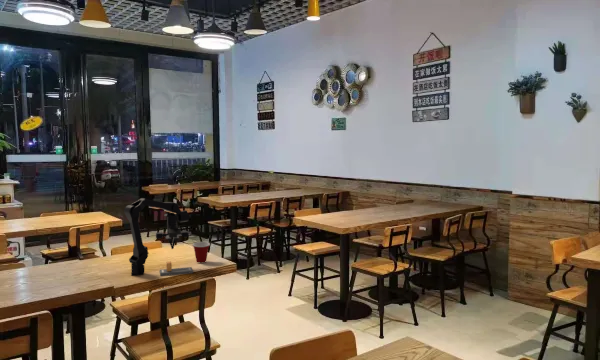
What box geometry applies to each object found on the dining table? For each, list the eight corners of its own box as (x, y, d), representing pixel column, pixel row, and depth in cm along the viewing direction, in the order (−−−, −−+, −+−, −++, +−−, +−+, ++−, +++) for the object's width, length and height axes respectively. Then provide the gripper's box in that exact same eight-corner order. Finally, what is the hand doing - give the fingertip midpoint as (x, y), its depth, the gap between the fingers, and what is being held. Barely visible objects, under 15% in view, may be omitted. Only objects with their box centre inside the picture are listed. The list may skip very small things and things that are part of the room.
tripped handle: (166, 271, 251) (166, 263, 251) (166, 269, 255) (166, 261, 254) (171, 270, 252) (171, 263, 251) (171, 269, 256) (170, 261, 255)
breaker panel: (160, 275, 248) (160, 273, 248) (159, 272, 255) (159, 269, 255) (193, 273, 254) (193, 270, 254) (191, 269, 262) (191, 266, 262)
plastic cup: (194, 265, 272) (193, 245, 272) (191, 261, 282) (191, 242, 282) (211, 263, 276) (211, 244, 276) (208, 259, 286) (208, 241, 286)
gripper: (156, 226, 255) (156, 252, 256) (189, 224, 262) (189, 250, 263) (155, 223, 265) (155, 248, 266) (187, 221, 272) (187, 246, 273)
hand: (172, 248), depth 267 cm, fingers closed
